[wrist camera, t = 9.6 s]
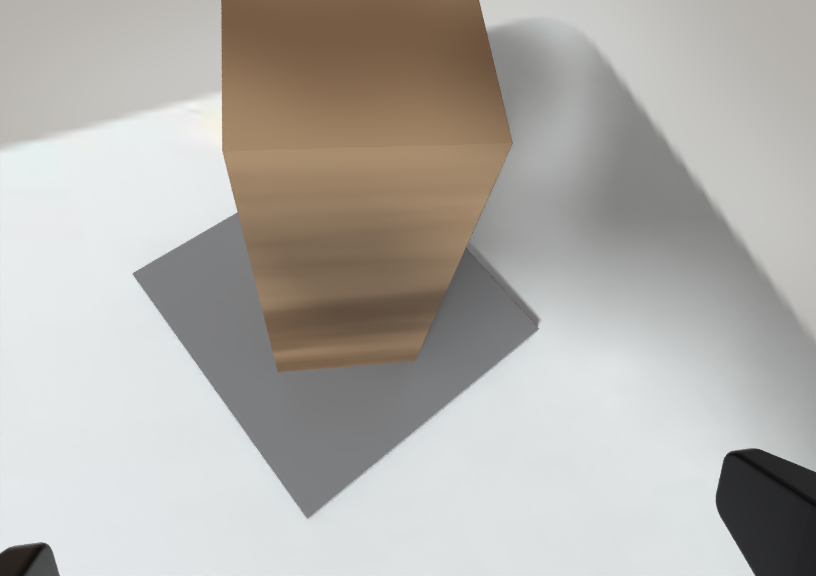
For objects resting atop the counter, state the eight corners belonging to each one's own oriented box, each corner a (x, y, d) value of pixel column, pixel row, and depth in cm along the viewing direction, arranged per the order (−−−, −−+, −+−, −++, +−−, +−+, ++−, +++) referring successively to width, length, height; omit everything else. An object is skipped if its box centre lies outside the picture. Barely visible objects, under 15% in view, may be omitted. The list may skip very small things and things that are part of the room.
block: (414, 360, 23) (512, 143, 11) (277, 372, 22) (222, 151, 10) (399, 241, 25) (466, -52, 13) (272, 248, 24) (220, -58, 12)
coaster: (534, 334, 24) (539, 328, 24) (307, 519, 21) (307, 518, 20) (364, 146, 27) (365, 138, 26) (136, 280, 23) (132, 273, 23)
